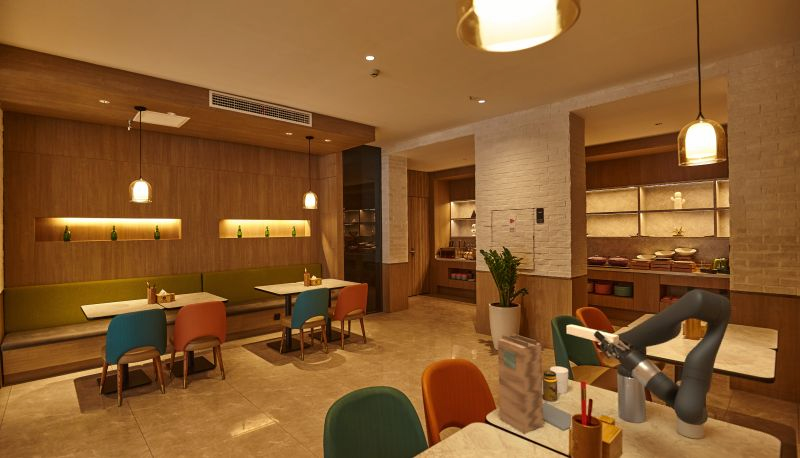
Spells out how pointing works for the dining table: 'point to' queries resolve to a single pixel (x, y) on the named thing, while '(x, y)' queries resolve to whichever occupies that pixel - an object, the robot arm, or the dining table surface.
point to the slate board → (556, 417)
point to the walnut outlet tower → (520, 382)
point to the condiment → (550, 387)
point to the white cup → (561, 379)
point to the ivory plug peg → (590, 333)
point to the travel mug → (689, 427)
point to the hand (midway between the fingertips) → (598, 332)
